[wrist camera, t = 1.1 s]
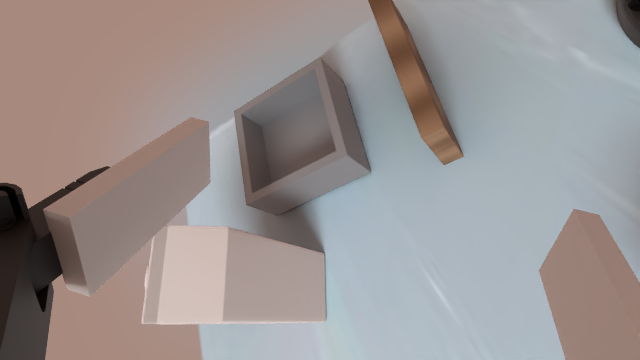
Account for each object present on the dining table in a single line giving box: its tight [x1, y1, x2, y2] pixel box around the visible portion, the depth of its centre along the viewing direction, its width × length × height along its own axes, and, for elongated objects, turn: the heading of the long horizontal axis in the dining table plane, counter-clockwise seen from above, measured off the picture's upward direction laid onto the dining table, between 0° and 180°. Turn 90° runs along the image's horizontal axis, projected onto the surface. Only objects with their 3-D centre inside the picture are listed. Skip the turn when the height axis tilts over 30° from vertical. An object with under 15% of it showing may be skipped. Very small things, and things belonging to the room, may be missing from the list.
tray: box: [234, 58, 371, 215], centre depth 46 cm, size 13×13×6 cm
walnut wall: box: [368, 0, 464, 165], centre depth 40 cm, size 18×2×7 cm, turn 14°
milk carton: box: [141, 225, 326, 324], centre depth 36 cm, size 7×7×19 cm
